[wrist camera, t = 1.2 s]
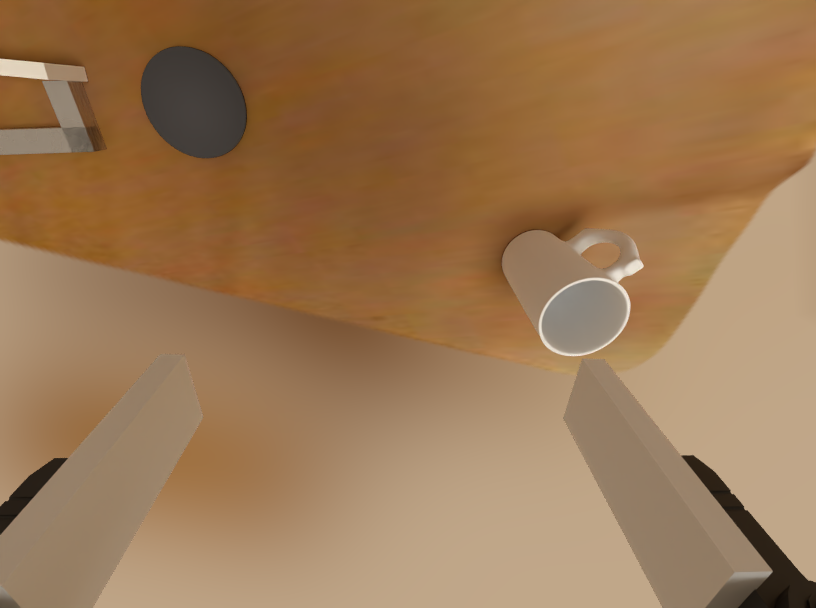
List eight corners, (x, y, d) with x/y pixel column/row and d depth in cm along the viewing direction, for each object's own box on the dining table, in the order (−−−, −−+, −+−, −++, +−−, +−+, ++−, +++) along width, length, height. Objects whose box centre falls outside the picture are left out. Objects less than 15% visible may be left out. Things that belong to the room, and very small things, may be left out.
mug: (524, 300, 41) (570, 370, 31) (484, 260, 39) (520, 321, 28) (605, 235, 38) (688, 288, 28) (567, 187, 36) (642, 225, 25)
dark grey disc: (131, 41, 29) (129, 40, 29) (240, 52, 30) (239, 52, 30) (155, 153, 33) (153, 154, 33) (251, 161, 34) (250, 161, 33)
